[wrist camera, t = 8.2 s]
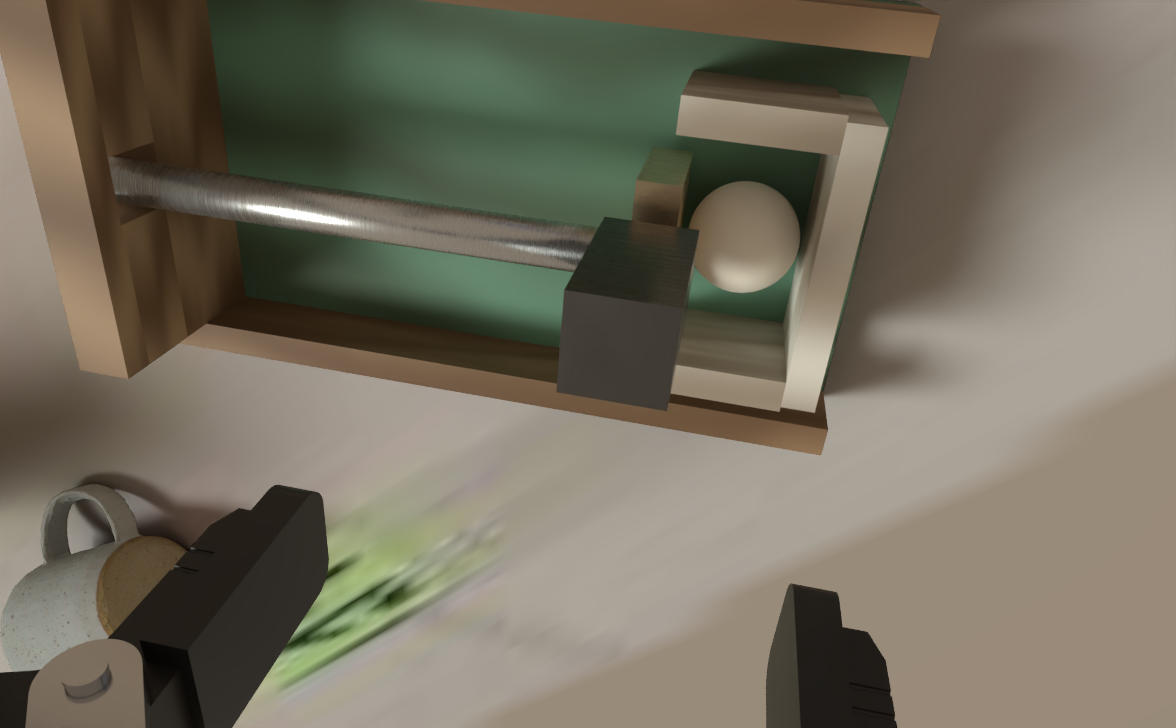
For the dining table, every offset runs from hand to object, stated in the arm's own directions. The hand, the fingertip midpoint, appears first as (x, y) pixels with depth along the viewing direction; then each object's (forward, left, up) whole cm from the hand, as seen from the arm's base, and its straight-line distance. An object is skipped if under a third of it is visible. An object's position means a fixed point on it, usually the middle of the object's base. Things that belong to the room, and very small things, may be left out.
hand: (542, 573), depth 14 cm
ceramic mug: (+26, -29, -22) cm, 45 cm away
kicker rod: (0, -10, -20) cm, 22 cm away
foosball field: (0, -7, -22) cm, 23 cm away
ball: (0, +3, -19) cm, 19 cm away
